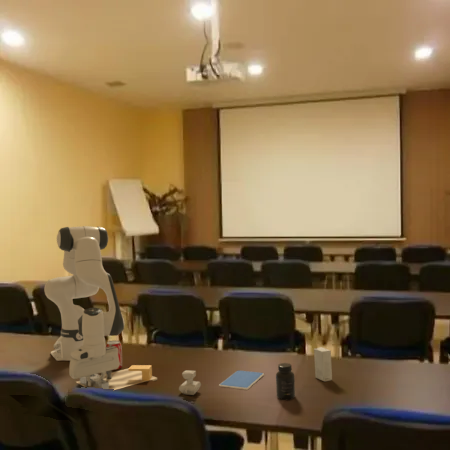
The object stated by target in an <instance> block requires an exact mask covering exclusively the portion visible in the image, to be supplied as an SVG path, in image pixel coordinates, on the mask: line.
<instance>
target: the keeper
mask: <svg viewBox="0 0 450 450" xmlns="http://www.w3.org/2000/svg"><path fill="white" fill-rule="evenodd" d="M127 369H128V368H127ZM128 370H129V371H142V380H149V381H151V380H150V379H151V377H152V376H153V367H152V364H151V365H150V364H148V365H147V364H146V365H145V364H142V365H141V364H136V365H135V364H132V365H131V366H130V367H129V369H128Z"/></svg>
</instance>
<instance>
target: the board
mask: <svg viewBox="0 0 450 450" xmlns="http://www.w3.org/2000/svg"><path fill="white" fill-rule="evenodd" d="M129 368H130V367H129ZM129 368H125V369H121V370H120V369H119V370H116V371H111V375H112V378H111V379H107V374H106V375H105V377H104V379H103V380H105V381H107V382H109V389H114V390H113V391H115V390H120V389H124V388H127V387H130V386H134V385H137V384H142V383H144V382H149V381H153V382H156V381H158V377H156V376H153V375H152V377H151V379H150V380H142V371H129V370H128V369H129ZM75 382H76V384H78V385H80V386H82V387H84V388H86V386H84V385H82V384H80V380H78V381H75ZM88 387H91V386H88Z"/></svg>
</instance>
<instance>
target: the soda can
mask: <svg viewBox="0 0 450 450" xmlns="http://www.w3.org/2000/svg"><path fill="white" fill-rule="evenodd" d="M111 346H116V347H117V348H118V357H119V364H120V365H119V367H118V368H117V369H113V370H112V371H114V370H116V371H117V370H120V369H121V368H123V349H122V348H123V346H122V343H121V341H120V340H109V341H107V342H106V347H111Z"/></svg>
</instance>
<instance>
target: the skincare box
mask: <svg viewBox="0 0 450 450" xmlns="http://www.w3.org/2000/svg"><path fill="white" fill-rule="evenodd" d="M331 351H332V350H330V349H327V348H324V347H323V346H322V347H321V346H320V347H315V348H313V355H314V358H313V359H314V371H315V372H314V373H315V378H316V379H318V380H320V381H322V382H330V381H333V373H332V372H333V371H332V352H331Z"/></svg>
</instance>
